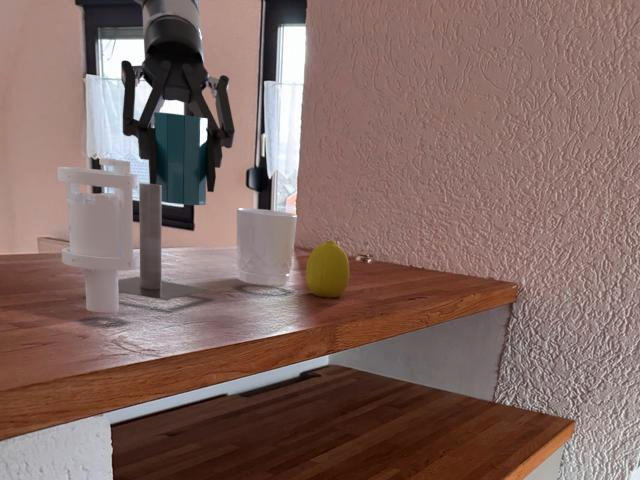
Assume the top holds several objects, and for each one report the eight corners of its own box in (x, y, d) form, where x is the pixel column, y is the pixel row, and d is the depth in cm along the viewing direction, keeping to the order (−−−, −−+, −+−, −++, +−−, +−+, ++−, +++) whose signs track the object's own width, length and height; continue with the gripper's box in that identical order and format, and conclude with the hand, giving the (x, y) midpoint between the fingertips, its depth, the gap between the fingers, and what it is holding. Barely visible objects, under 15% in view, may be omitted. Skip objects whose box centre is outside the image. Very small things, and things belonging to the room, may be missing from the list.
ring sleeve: (144, 199, 91) (144, 110, 87) (171, 198, 97) (171, 115, 93) (189, 205, 90) (191, 115, 86) (213, 204, 96) (215, 120, 92)
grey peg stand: (87, 296, 83) (83, 178, 78) (136, 286, 91) (135, 179, 86) (167, 310, 80) (167, 189, 75) (209, 298, 89) (212, 189, 84)
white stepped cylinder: (154, 322, 74) (154, 164, 69) (103, 332, 69) (99, 159, 63) (102, 310, 77) (97, 156, 71) (48, 318, 71) (39, 151, 65)
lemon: (295, 300, 95) (300, 236, 92) (328, 299, 98) (334, 237, 95) (320, 309, 91) (326, 242, 88) (354, 307, 95) (361, 243, 92)
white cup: (283, 297, 96) (289, 217, 92) (225, 289, 96) (228, 209, 92) (297, 289, 103) (303, 214, 99) (243, 281, 104) (247, 207, 100)
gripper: (241, 76, 103) (255, 209, 96) (97, 54, 97) (100, 195, 89) (249, 28, 96) (265, 167, 89) (95, 2, 90) (98, 148, 83)
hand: (182, 181), depth 89 cm, fingers closed on ring sleeve, 6 cm apart
